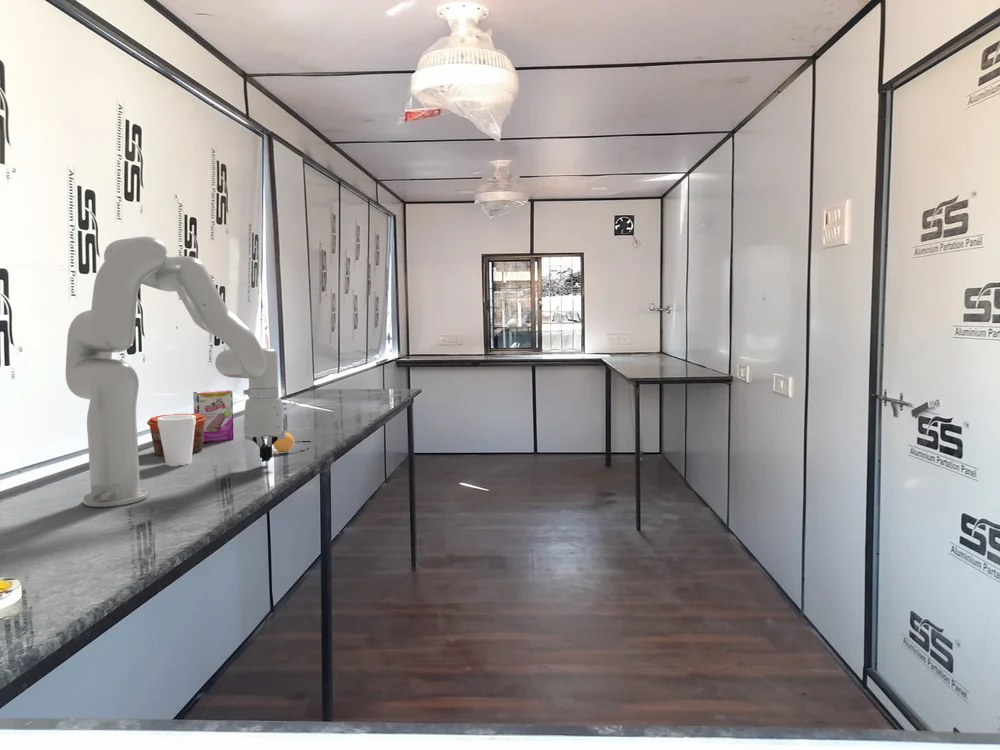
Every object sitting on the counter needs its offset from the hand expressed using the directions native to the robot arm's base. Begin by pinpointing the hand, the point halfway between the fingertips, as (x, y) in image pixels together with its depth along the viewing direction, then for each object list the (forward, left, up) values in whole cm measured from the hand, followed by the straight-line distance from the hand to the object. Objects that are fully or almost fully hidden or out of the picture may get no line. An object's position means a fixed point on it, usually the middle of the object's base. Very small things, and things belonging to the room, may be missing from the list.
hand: (266, 460), depth 183 cm
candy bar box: (+38, +26, -2) cm, 46 cm away
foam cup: (+5, +25, -2) cm, 26 cm away
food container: (+21, +31, -2) cm, 37 cm away
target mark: (+22, 0, -2) cm, 22 cm away
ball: (+18, -1, +2) cm, 18 cm away
